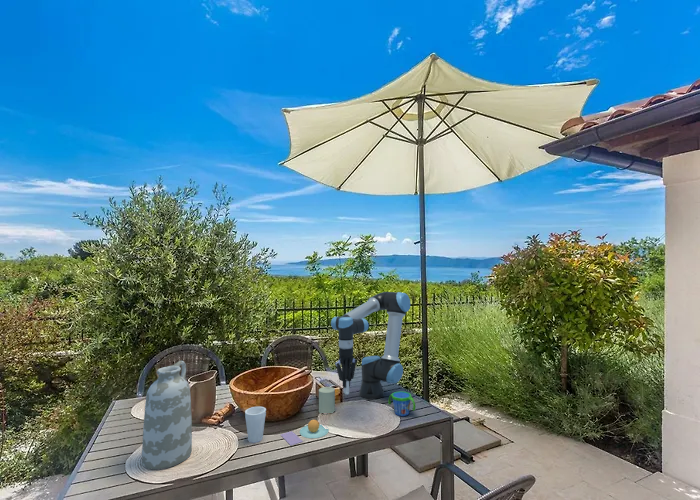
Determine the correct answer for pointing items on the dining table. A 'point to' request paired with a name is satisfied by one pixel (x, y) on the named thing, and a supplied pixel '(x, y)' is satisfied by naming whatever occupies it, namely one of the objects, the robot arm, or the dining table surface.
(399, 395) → the snack cup
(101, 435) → the dining table surface
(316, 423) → the ball
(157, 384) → the vase
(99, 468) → the dining table surface
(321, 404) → the can
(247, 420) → the foam cup
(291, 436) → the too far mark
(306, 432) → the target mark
